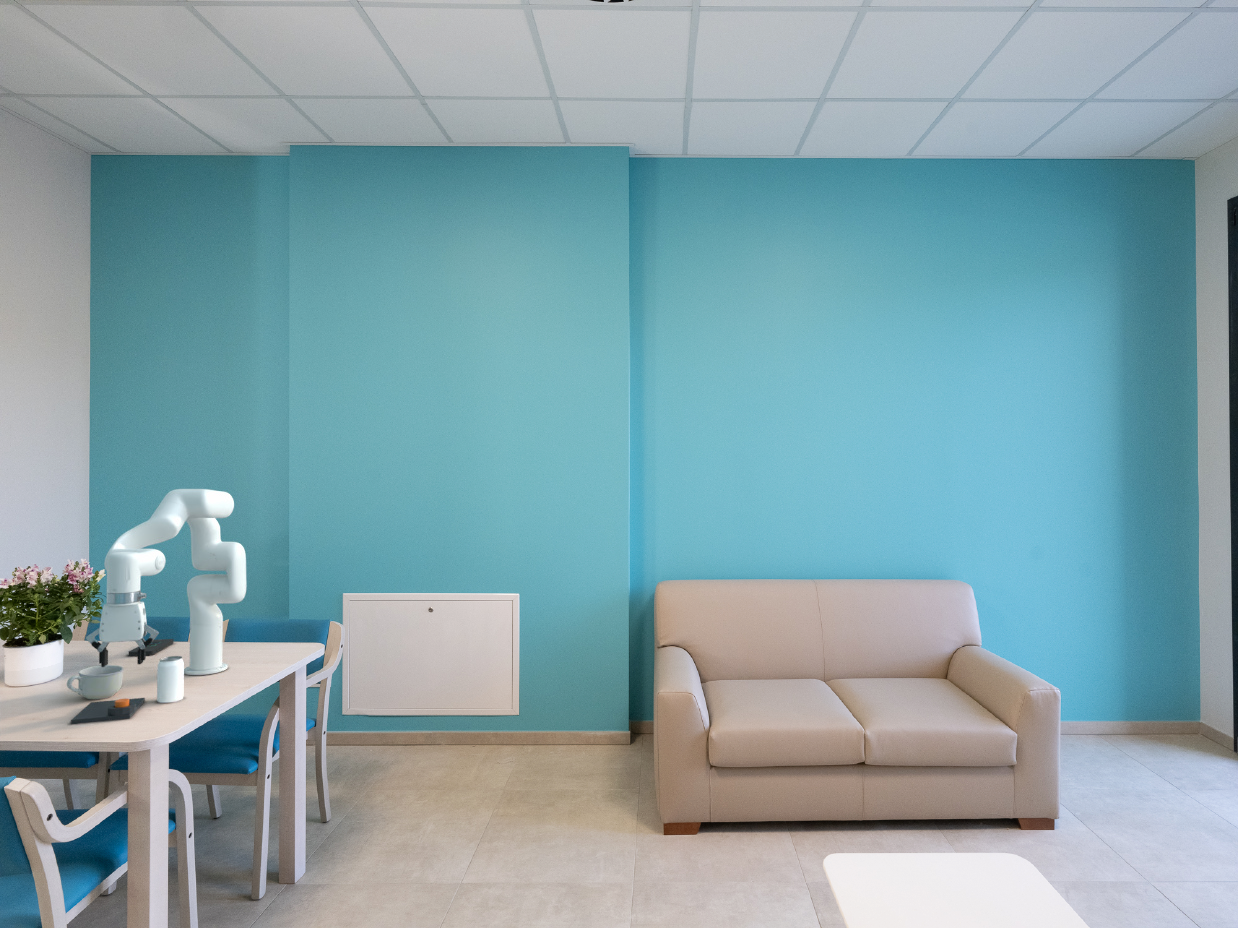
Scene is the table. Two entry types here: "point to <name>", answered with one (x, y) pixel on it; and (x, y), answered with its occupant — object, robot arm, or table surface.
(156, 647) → the smart home device
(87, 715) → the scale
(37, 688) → the table surface
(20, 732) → the table surface
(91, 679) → the teacup
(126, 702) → the button
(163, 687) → the can
